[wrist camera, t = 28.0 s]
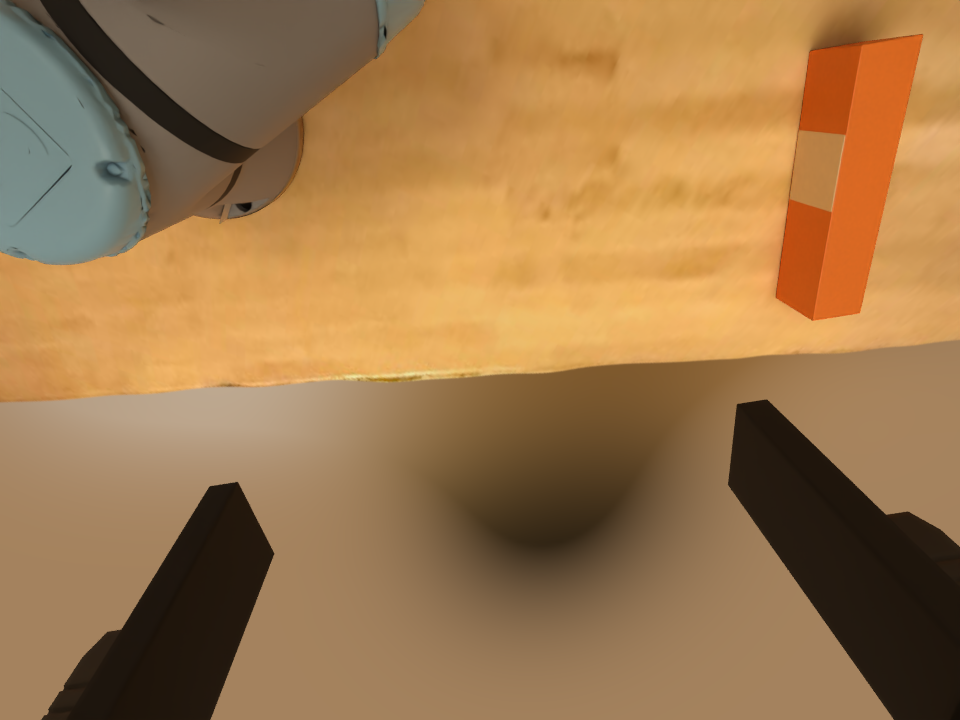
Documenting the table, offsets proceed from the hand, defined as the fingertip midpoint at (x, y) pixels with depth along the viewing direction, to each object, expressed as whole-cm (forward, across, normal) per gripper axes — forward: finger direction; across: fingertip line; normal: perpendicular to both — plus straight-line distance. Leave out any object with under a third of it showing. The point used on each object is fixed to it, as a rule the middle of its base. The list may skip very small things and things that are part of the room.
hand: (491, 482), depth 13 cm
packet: (+37, +32, -3) cm, 49 cm away
